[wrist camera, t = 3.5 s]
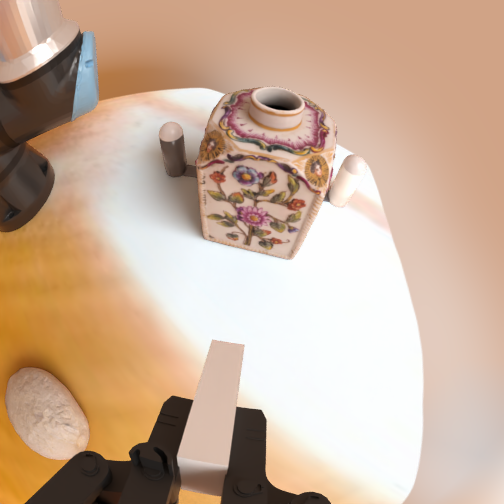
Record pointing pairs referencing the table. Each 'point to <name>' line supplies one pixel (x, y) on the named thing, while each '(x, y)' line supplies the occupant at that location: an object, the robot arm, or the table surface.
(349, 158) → the salt shaker
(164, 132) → the pepper shaker
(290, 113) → the decorative jar
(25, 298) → the table surface
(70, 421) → the stone
